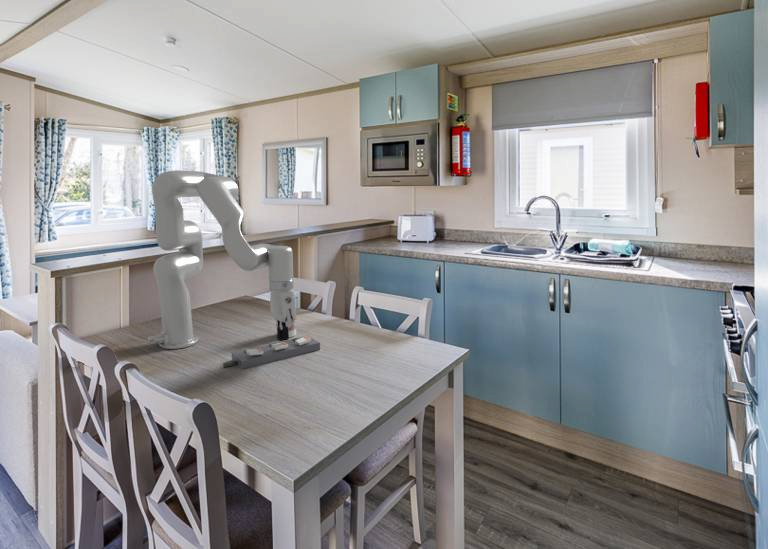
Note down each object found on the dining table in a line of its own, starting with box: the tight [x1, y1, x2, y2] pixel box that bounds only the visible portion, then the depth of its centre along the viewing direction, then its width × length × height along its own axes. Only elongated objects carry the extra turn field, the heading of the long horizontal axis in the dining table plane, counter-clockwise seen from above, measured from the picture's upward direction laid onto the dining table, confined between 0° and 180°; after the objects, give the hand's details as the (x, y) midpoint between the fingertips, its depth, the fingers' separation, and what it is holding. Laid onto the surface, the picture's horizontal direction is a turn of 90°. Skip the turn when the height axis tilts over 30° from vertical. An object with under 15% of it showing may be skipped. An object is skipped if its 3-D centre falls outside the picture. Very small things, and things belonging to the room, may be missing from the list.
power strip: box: [222, 335, 321, 370], centre depth 148 cm, size 31×9×3 cm, turn 127°
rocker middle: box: [271, 342, 288, 350], centre depth 147 cm, size 4×3×1 cm
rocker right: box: [295, 335, 312, 345], centre depth 152 cm, size 4×3×1 cm
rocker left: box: [245, 348, 264, 355], centre depth 142 cm, size 4×3×1 cm
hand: (283, 339), depth 148 cm, fingers closed
